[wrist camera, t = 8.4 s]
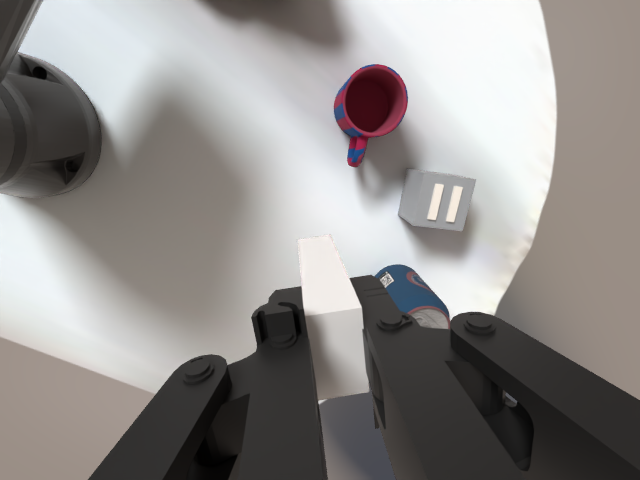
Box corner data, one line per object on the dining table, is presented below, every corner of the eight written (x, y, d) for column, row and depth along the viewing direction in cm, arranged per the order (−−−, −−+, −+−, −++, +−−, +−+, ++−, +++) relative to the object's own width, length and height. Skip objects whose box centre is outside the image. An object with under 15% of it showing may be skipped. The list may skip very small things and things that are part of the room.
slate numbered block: (397, 214, 43) (414, 226, 37) (406, 168, 41) (425, 172, 35) (440, 219, 44) (463, 232, 38) (451, 174, 42) (477, 179, 36)
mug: (398, 90, 39) (419, 80, 32) (365, 171, 41) (378, 177, 35) (346, 67, 38) (356, 52, 31) (315, 152, 40) (319, 154, 34)
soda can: (426, 283, 46) (469, 330, 35) (390, 315, 47) (420, 371, 36) (395, 251, 44) (430, 289, 33) (358, 284, 46) (379, 332, 34)
